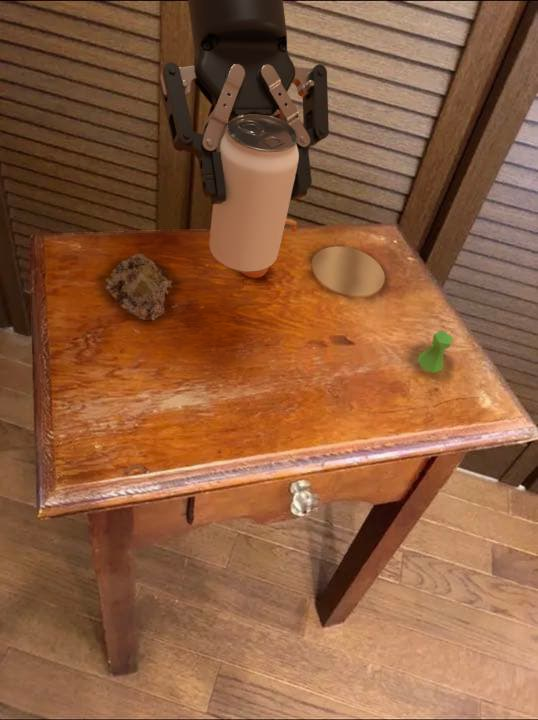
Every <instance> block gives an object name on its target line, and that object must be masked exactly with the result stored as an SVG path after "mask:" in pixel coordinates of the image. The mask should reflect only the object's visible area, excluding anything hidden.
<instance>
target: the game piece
mask: <svg viewBox="0 0 538 720" xmlns="http://www.w3.org/2000/svg"><path fill="white" fill-rule="evenodd" d="M431 341H432V342H431V344H432V346H430V347H428V348H426V350H423V351H422V352H421V353H419V355H418V358H417V362H418V364H419V365H420V366H421V368H422V369H423V370H425V371H427V372H429V373H432V374H434V373H438V372H442V371H443V366H444V350H447V349H449V348H451V345H452V341H453V336H452V335H450V334H448V333H447V332H445V331H444V330H441V331H438V332H435V333H434V334H433V338H432V340H431Z"/></svg>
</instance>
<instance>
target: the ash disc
mask: <svg viewBox="0 0 538 720" xmlns="http://www.w3.org/2000/svg"><path fill="white" fill-rule="evenodd" d="M310 270H311V272H312V275H313V277H314V279H315V280H316V281H317V282H318V284H320V285H321V286H322V287H323V288H324V289H326V290H327V291H330V292H332V293H333V294H336V295H339V296H342V297H345V298H350V299H365V298H368V297H372V296H374V295H376V294H377V293H379V292H380V291H381V290H382V288H383V286H384V284H385V279H386V277H385V273H384V270H383V268H382V266H381V265H380V264H379V262H378V261H377V260H375V258H373V257H372V256H370V255H369V254H368V253H366V252H364V251H361V250H359V249H356V248H352V247H348V246H340V245H338V246H335V245H334V246H328V247H325V248H322V249H321V250H319V251H317V252H316V253H315V254H314V256H313V258H312V259H311V265H310Z"/></svg>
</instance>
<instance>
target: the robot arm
mask: <svg viewBox="0 0 538 720" xmlns="http://www.w3.org/2000/svg"><path fill="white" fill-rule="evenodd" d="M187 4H188V11H189V19H190V27H191V35H192V42H193V49H194V56H195V60H194V63H193V65H189V66H179V65H178V64H177V63H175V62H172V61H169V62H167V63H165V64H164V66H163V69H162V71H161V73H160V75H159V77H158V85H159V91H160V94H161V100H162V104H163V107H164V112H165V116H166V120H167V125H168V130H169V134H170V138H171V142H172V147H173V148H174V150H176V151H178V152H184V151H185V152H187V153H190V154H193V155H194V156H195V157H196V158H197V162H198V167H199V175H200V182H201V189H202V193H203V195H204V197H205V198H210V203H211V205H213V204H221V203H223V202H224V201H226V190H225V182H224V174H223V167H222V160H221V152H219V151H218V150H217V148H218V145H219V144H220V141H221V138H222V135H223V131H224V129H225V127H226V126H227V124H228V122H229V121H230V120H231V119H232V118H233V117H235V116H238V115H247V114H250V113H254V114H259V115H269V116H273V117H276V118H279V119H281V120H283V121H285V122H286V123H288V124H289V125H291V126H292V127H293V128H294V129H295V131H296V132H297V135H298V140H297V143H296V145H297V148H298V153H299V159H298V165H297V170H296V175H295V180H294V185H293V189H292V194H291V198H290V200H297V199H298V200H299V199H302V198H304V197H306V196H307V194H308V190H309V189H311V188H312V182H313V180H312V171H311V162H310V161H311V160H310V153H309V151H310V147H314V146H316V145H317V144H318V143H319V142H321V141H323V140H324V139H326V138H328V136H329V132H330V129H329V128H330V126H329V97H328V95H329V94H328V90H329V89H328V70H327V68H326V66H324V65H323V64H321V63H318V64H316V65H315V66H314V67H312V68H309V67H301V66H300V67H299V66H295V64H294V62H293V60H292V59H291V57H290V55H289V52H288V34H287V33H288V32H287V25H286V24H287V23H286V14H285V8H284V7H285V6H284V0H187ZM193 83H194V85H195V86H196V87H197V89H198V90H199V91H200V93H201V94H202V95H203V96H204V97H205V99H206V100H207V101H208V103H209V104H210V106H209V109H208V112H207V114H206V118H205V120H204V122H203V125H202V130H201V133H200V132H196V131H194V127H193V124H192V119H191V115H190V110H189V105H188V101H187V97H188V95H189V94H190V92H191V89H192V84H193ZM292 84H294V86H295V87H296V89H297V95H298V96H299V97H301V98H302V120H303V123H302V121H301V120H300V118H299V111H298V109H297V107H296V106H295V104H294V102H293V100H292V99H291V97H290V95H289V94H288V92H289V89H290V88H291V85H292Z"/></svg>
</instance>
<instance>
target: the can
mask: <svg viewBox="0 0 538 720" xmlns="http://www.w3.org/2000/svg"><path fill="white" fill-rule="evenodd" d="M297 140H298V135H297V132H296V131H295V129H294V128H293V127H292V126H291V125H289V124H288V123H286V122H285V121H283V120H281V119H279V118H276V117H273V116H269V115H259V114H254V113H250V114H247V115H238V116H235V117H233V118H232V119H231V120H230V121H229V122H228V121H227V123H226V131H225V133H224V134H223V135H222V136H221V138H220V141H219V148H218V152H221V160H222V167H223V174H224V182H225V190H226V201H224V202H223V203H221V204H212V211H211V222H210V230H209V232H210V233H209V243H208V244H209V245H208V246H209V252H210V253H211V255H212V256H213V258H214V259H215V260H216V261H217V262H218V264H220V265H221V266H224V268H227V269H229V270H232V271H235V272H238V273H241V272H245V273H251V272H258V271H261V270H264V269H266V268H267V267H271V266H272V265H273V264H274V263H275V262H276V261H277V259H278V256H279V252H280V249H281V244H282V239H283V235H284V229H285V226H286V224H285V221H286V218H288V217H287V216H288V212H289V208H290V204H291V203H290V202H291V194H292V189H293V185H294V180H295V175H296V170H297V165H298V159H299V153H298V148H297V145H296V143H297Z"/></svg>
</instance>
